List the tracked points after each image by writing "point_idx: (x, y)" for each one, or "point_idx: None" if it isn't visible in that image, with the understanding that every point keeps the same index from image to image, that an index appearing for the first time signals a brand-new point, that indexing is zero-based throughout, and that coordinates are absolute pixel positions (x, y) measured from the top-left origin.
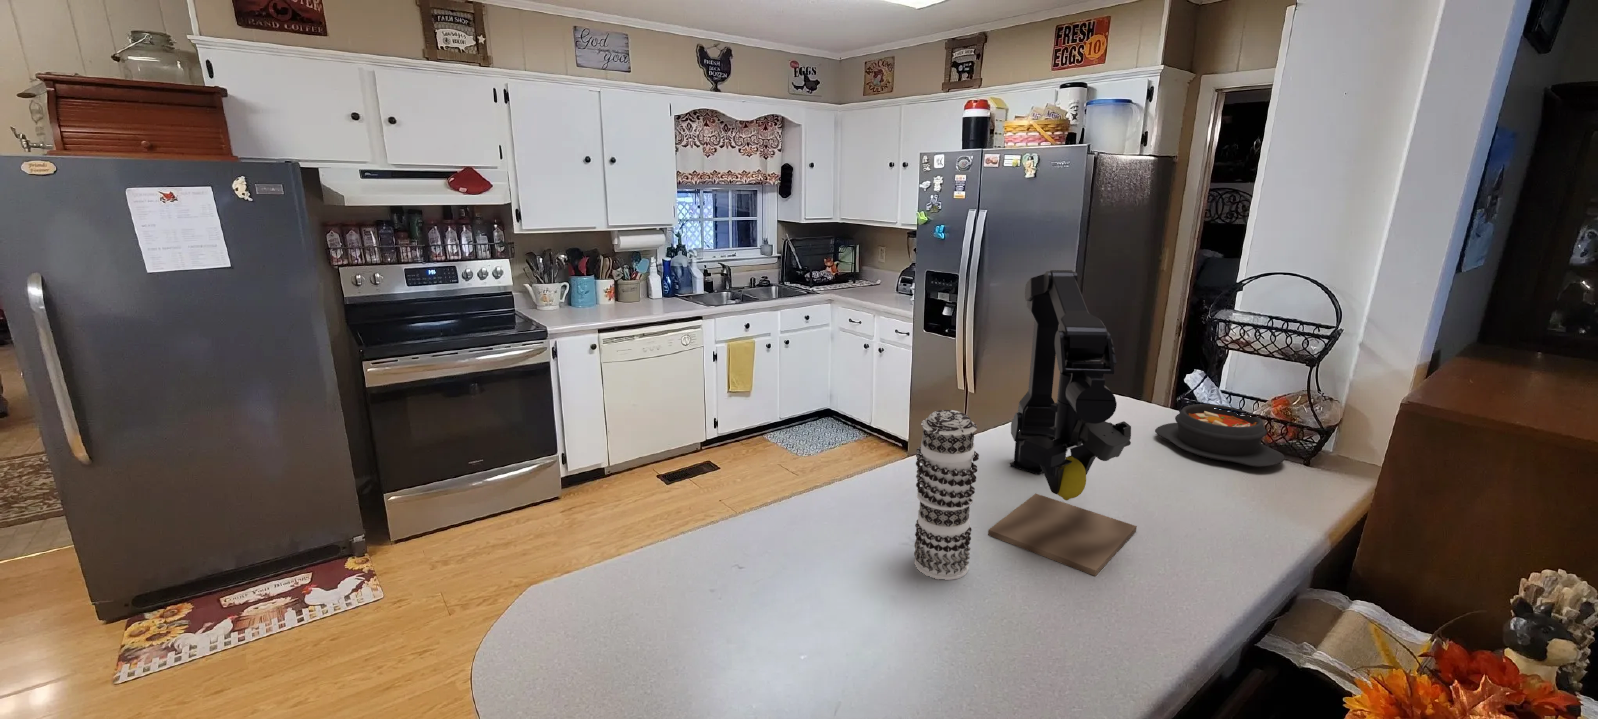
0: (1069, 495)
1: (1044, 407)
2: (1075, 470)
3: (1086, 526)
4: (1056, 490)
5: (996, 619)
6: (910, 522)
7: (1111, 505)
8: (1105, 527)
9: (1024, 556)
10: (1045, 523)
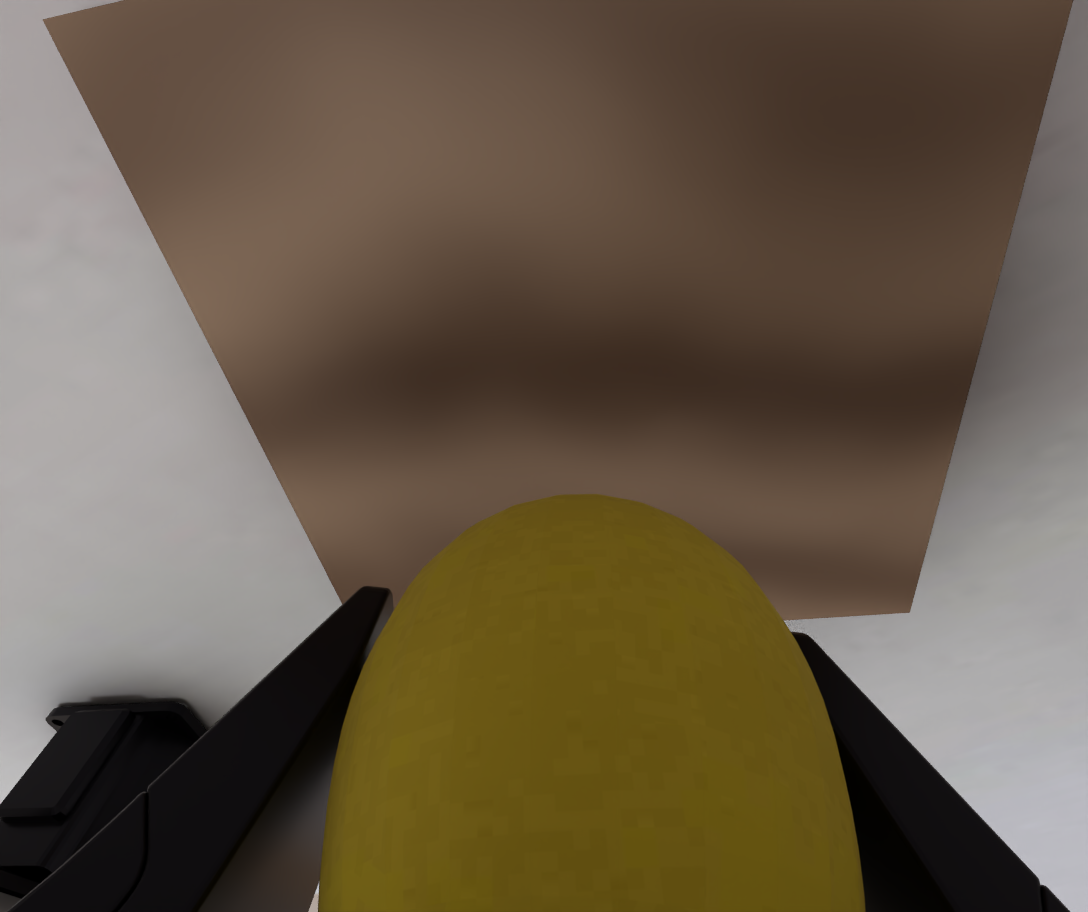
0: (723, 548)
1: None
2: None
3: (434, 300)
4: (845, 679)
5: None
6: (978, 776)
7: (8, 359)
8: (321, 197)
9: (1032, 370)
10: (618, 478)
